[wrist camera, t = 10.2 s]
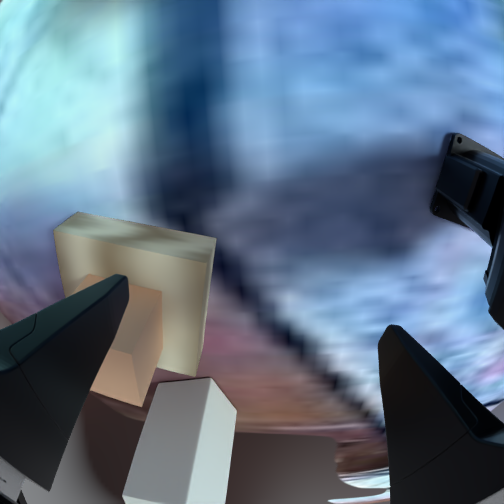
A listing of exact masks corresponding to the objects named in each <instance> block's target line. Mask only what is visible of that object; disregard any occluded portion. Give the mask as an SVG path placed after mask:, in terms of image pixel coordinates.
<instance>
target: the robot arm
mask: <svg viewBox="0 0 504 504" xmlns="http://www.w3.org/2000/svg"><path fill="white" fill-rule="evenodd" d="M458 137H459V142H457V138H458ZM437 206H438V209H437V210H436V211H435V208H436V207H437ZM430 212H431V213H432V214H433V215H435V216H438V217H441V218H443V219H446V220H449V221H452V222H455V223H458V224H460V225H463V226H466V227H469V228H471V229H472V230H473V231H474V232H475V233H476V234H478V235H479V236H480V237H481V238H482V239H483V240H484V241H485V242H486V243H488V244H489V245H490V246H491V247H492V252H491V256H490V260H489V264H488V268H487V270H486V271H485V274H484V278H483V279H484V281H485V284H486V292H485V294H486V298H487V301H488V304H489V306H490V307H489V310H488V311H489V314H490V315H491V316H492V318H493V319H494V321H495V322H496V323H497V324H498V325H499V326H500V327H501V328H502V329H503V330H504V158H502V157H501V156H499V155H497V154H496V153H494V152H493V151H491V150H489V149H487V148H486V147H484V146H482V145H481V144H479V143H477V142H475V141H473V140H472V139H470V138H468V137H466V136H464V135H462V134H460V133H454V134H453V135H452V138H451V142H450V145H449V149H448V153H447V156H446V157H445V160H444V163H443V166H442V170H441V173H440V176H439V179H438V182H437V185H436V191H435V193H434V196H433V199H432V202H431V205H430ZM128 302H129V282H128V277H127V276H125V275H121V274H114V275H112V276H110V277H108V278H106V279H104V280H102V281H99V282H97V283H95V284H93V285H91V286H89V287H87V288H85V289H83V290H81V291H79V292H77V293H75V294H73V295H71V296H69V297H67V298H65V299H63V300H61V301H59V302H57V303H55V304H53V305H51V306H49V307H47V308H45V309H43V310H41V311H39V312H37V314H36V313H35V314H33V315H31V316H29V317H27V318H25V319H23V320H21V321H19V322H17V323H15V324H12V325H10V326H8V327H6V328H3V329H1V330H0V504H27V503H26V500H25V498H24V496H23V493H22V490H21V488H22V486H23V483H24V481H25V478H26V479H28V480H30V481H31V482H33V483H35V484H36V485H38V486H40V487H42V488H43V489H45V490H47V491H50V489H51V487H52V484H53V481H54V478H55V475H56V472H57V470H58V467H59V464H60V461H61V458H62V456H63V453H64V451H65V448H66V446H67V443H68V440H69V438H70V435H71V433H72V430H73V428H74V425H75V423H76V420H77V418H78V416H79V413H80V411H81V409H82V407H83V404H84V402H85V400H86V398H87V395H88V393H89V391H90V389H91V387H92V384H93V382H94V380H95V378H96V376H97V374H98V372H99V369H100V367H101V365H102V363H103V361H104V359H105V357H106V355H107V353H108V351H109V349H110V347H111V345H112V343H113V341H114V339H115V336H116V334H117V331H118V328H119V326H120V323H121V320H122V318H123V315H124V312H125V310H126V307H127V305H128ZM378 358H379V377H380V388H381V395H382V402H383V410H384V418H385V427H386V437H387V447H388V460H389V476H390V486H391V487H390V504H504V423H503V422H501V421H500V420H499V419H498V418H497V417H496V416H495V415H493V414H492V413H491V412H490V411H489V410H488V409H487V408H486V407H484V406H483V405H482V404H481V403H480V402H479V401H478V400H477V399H476V398H475V397H474V396H473V395H472V394H471V393H469V392H468V391H467V390H466V389H465V388H464V387H463V386H462V385H460V383H459V382H458V381H457V380H456V379H455V378H454V377H453V376H452V375H451V374H450V373H449V372H448V371H447V370H446V369H445V368H444V367H443V366H442V365H441V364H440V363H439V362H438V361H437V360H436V359H435V358H434V357H433V356H432V355H431V354H430V353H429V352H427V351H426V350H425V349H424V348H423V347H422V346H421V345H420V344H419V343H418V342H417V341H416V340H415V339H414V338H413V337H412V336H410V335H409V334H408V333H407V332H406V331H405V330H404V329H403V328H402V327H401V326H399V325H392V324H391V325H389V326H388V327H387V328H386V330H385V332H384V333H383V335H382V337H381V338H380V340H379V343H378Z"/></svg>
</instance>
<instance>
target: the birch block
mask: <svg viewBox="0 0 504 504" xmlns="http://www.w3.org/2000/svg"><path fill="white" fill-rule="evenodd" d="M53 232H54V240H55V247H56V253H57V259H58V264H59V270H60V275H61V280H62V285H63V289H64V294H65V298H67V297H69V296H71V295H72V293H73V292H74V291H75V290H76V288H77V287H78V286H79V285H80V284H81V282H82V281H83V280H84V279H85V278H86V277H87V275H88V274H91V275H95V276H99V277H103V278H108V277H110V276H112V275H114V274H121V275H125V276H127V277H128V282H129V284H132V285H136V286H140V287H145V288H149V289H154V290H158V291H162V329H163V350H162V352H161V355H160V358H159V361H158V363H157V366H156V367H157V368H161V369H165V370H169V371H173V372H177V373H181V374H186V375H190V376H196V372H197V368H198V364H199V361H200V357H201V353H202V349H203V341H204V332H205V323H206V315H207V307H208V299H209V291H210V283H211V275H212V268H213V260H214V253H215V246H216V239H217V238H213V237H208V236H203V235H198V234H193V233H187V232H182V231H177V230H172V229H166V228H161V227H156V226H151V225H146V224H140V223H135V222H130V221H124V220H119V219H114V218H108V217H103V216H98V215H92V214H87V213H82V212H77V213H75V214H74V215H72V216H71V217H70V218H68V219H67V220H66V221H64V222H63V223H62V224H60V225H59V226H58V227H57V228H55V229H54V230H53Z"/></svg>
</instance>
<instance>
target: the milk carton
mask: <svg viewBox="0 0 504 504" xmlns="http://www.w3.org/2000/svg"><path fill="white" fill-rule="evenodd" d="M236 413H237V410H236V409H235V408H234V407H233V405H232V404H231V403H230V402H229V400H228V399H227V398H226V396H225V395H224V394H223V393H222V391H221V390H220V389H219V387H218V386H217V385H216V383H215V382H214V381H213V379H212V378H204V379H195V380H186V381H176V382H165V383H159V384H158V386H157V389H156V391H155V394H154V397H153V400H152V403H151V406H150V409H149V412H148V415H147V418H146V421H145V424H144V427H143V430H142V433H141V436H140V439H139V443H138V446H137V449H136V452H135V455H134V459H133V462H132V465H131V468H130V471H129V475H128V478H127V481H126V485H125V488H124V492H123V495H122V496H123V499H124V501H125V503H126V504H225V499H226V492H227V484H228V476H229V469H230V461H231V453H232V444H233V437H234V429H235V421H236Z"/></svg>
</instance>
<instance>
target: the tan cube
mask: <svg viewBox="0 0 504 504" xmlns="http://www.w3.org/2000/svg"><path fill="white" fill-rule="evenodd" d="M104 279H106V278H103V277H99V276H95V275H91V274H88V275H87V277H86V278H85V279H84V280H83V281H82V282H81V284H80V285H79V286H78V287H77V288H76V290H75V291H74V292H73V293H72V295H73V294H75V293H77V292H79V291H81V290H83V289H85V288H87V287H89V286H91V285H93V284H95V283H97V282H99V281H102V280H104ZM162 350H163V329H162V291H158V290H154V289H149V288H145V287H140V286H136V285H132V284H129V302H128V305H127V307H126V310H125V312H124V315H123V318H122V320H121V323H120V326H119V328H118V331H117V334H116V336H115V339H114V341H113V343H112V345H111V347H110V349H109V351H108V353H107V355H106V357H105V359H104V361H103V363H102V365H101V367H100V369H99V372H98V374H97V376H96V378H95V380H94V382H93V384H92V387H91V389H90V390H91V391H94V392H97V393H100V394H102V395H105V396H108V397H111V398H114V399H117V400H120V401H123V402H127V403H130V404H133V405H137V406H140V407H142V405H143V402H144V399H145V396H146V394H147V391H148V388H149V385H150V382H151V380H152V377H153V374H154V371H155V369H156V366H157V363H158V361H159V358H160V355H161V352H162Z"/></svg>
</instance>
